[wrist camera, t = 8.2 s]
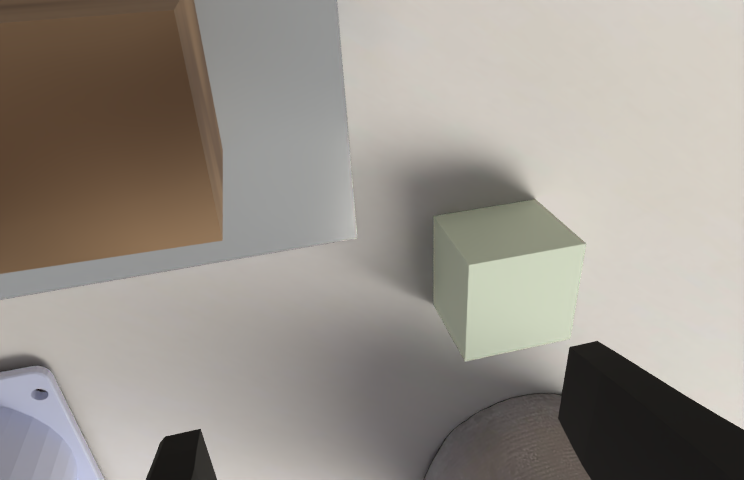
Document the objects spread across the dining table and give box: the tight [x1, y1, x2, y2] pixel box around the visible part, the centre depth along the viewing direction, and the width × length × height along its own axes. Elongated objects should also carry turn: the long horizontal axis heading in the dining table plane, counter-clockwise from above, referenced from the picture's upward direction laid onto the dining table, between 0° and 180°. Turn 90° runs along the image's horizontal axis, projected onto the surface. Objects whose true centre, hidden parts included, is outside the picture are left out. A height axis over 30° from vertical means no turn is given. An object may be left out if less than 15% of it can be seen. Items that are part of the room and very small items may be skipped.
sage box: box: [433, 199, 586, 362], centre depth 20 cm, size 4×4×4 cm
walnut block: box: [0, 0, 223, 274], centre depth 12 cm, size 4×4×6 cm
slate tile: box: [0, 0, 357, 300], centre depth 15 cm, size 12×12×1 cm
